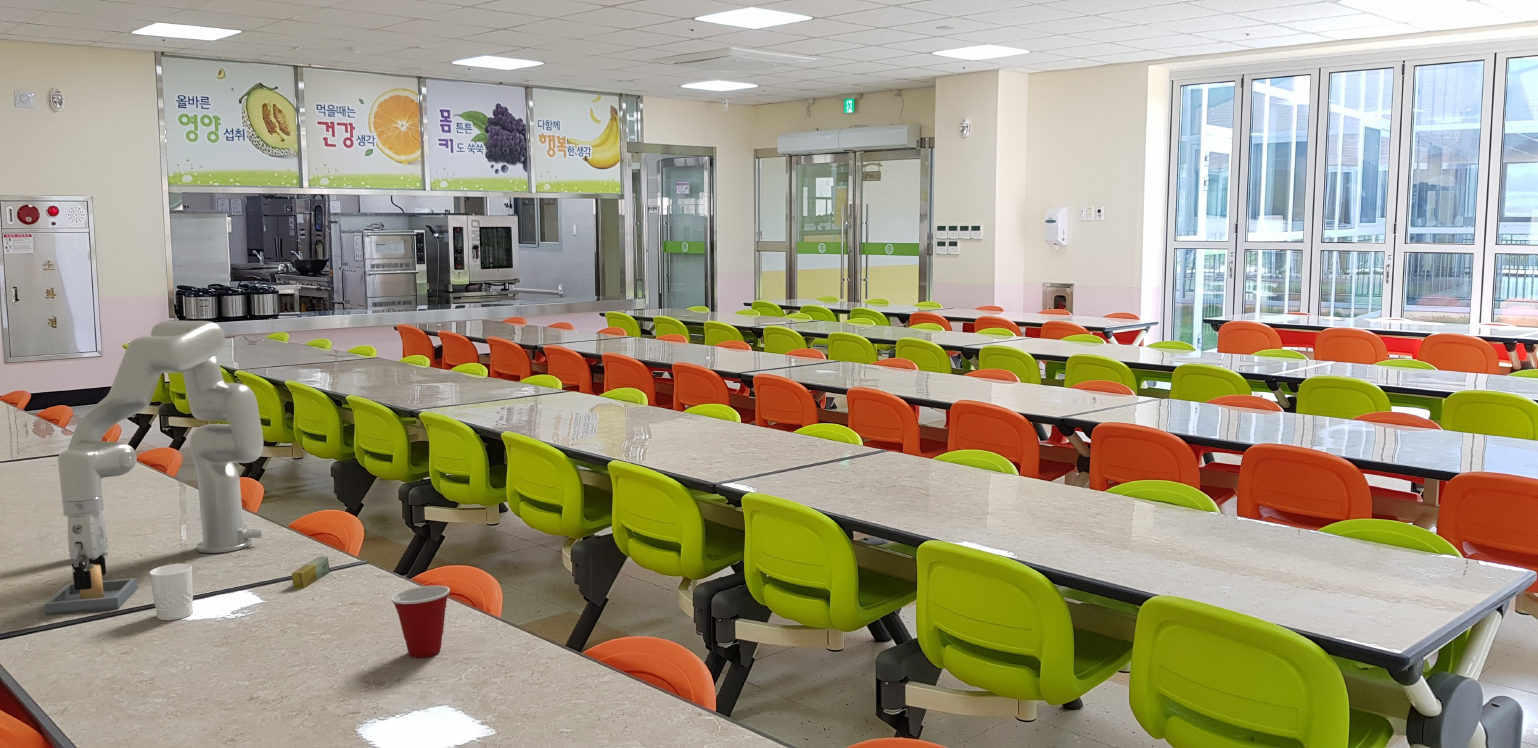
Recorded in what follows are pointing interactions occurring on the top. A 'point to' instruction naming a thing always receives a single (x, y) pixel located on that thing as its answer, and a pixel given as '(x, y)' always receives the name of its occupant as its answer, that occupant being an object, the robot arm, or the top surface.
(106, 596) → the tray
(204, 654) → the top surface
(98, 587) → the battery cell
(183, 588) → the white cup
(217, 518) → the robot arm
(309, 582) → the medication box
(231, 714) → the top surface
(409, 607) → the plastic cup
